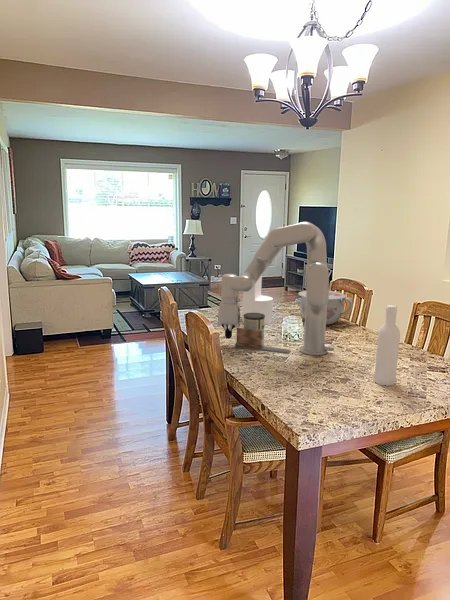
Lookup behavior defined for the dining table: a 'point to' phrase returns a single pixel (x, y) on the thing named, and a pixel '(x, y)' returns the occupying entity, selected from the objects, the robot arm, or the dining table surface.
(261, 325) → the coffee can
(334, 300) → the chamber pot
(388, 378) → the bottle
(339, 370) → the dining table surface
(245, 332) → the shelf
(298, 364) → the dining table surface
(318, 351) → the robot arm
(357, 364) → the dining table surface
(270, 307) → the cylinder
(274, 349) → the grey flat strip
